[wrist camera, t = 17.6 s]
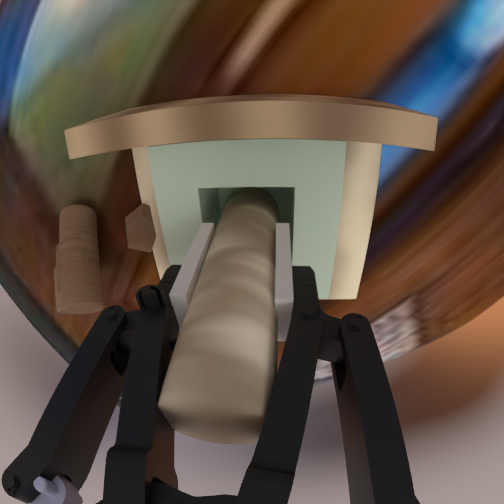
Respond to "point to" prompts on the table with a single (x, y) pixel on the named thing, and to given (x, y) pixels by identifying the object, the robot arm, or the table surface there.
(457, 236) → the table surface
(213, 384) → the dowel
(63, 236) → the wooden block set
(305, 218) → the sliding block
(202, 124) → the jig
